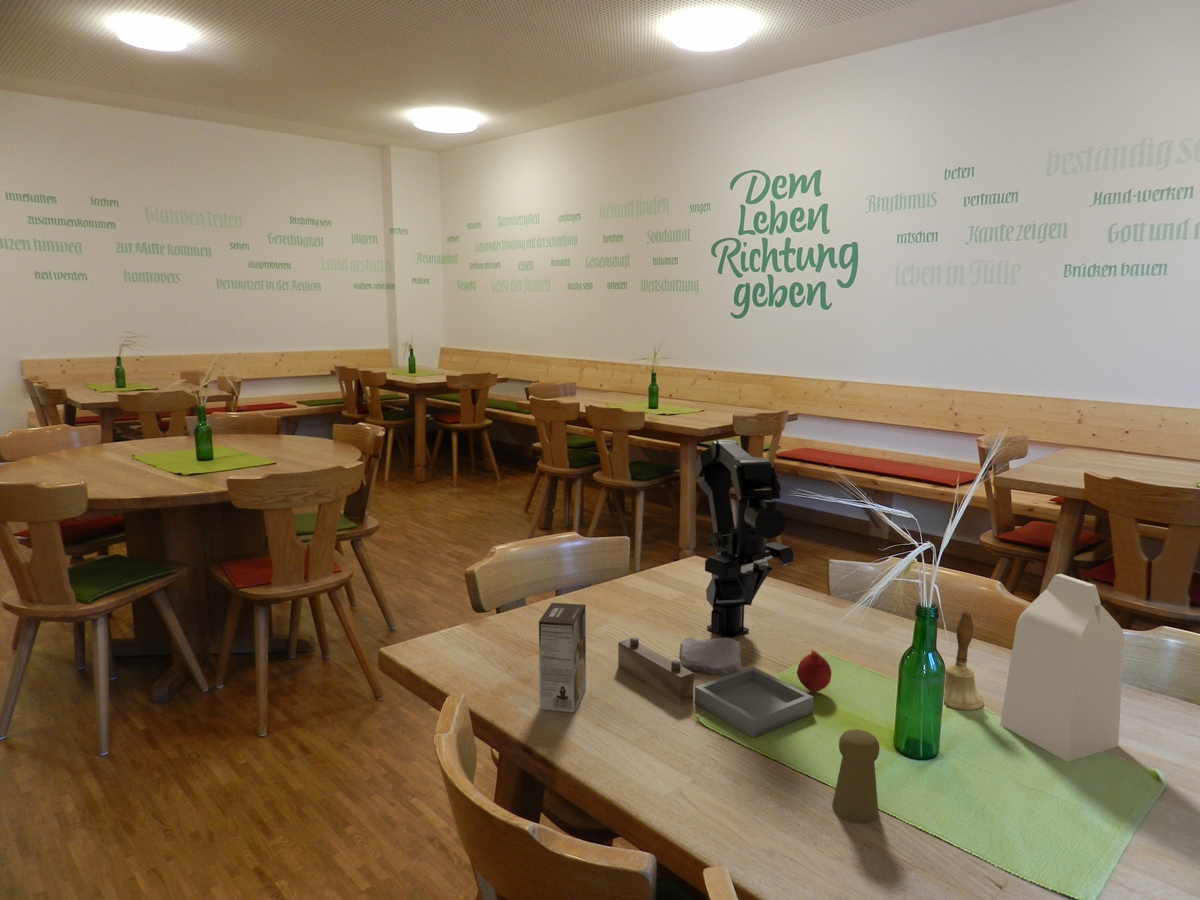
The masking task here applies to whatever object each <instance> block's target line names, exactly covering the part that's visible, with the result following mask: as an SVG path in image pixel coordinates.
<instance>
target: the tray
mask: <svg viewBox="0 0 1200 900" xmlns="http://www.w3.org/2000/svg"><path fill="white" fill-rule="evenodd" d="M814 697H815V696H813V695H811V694H809V693H807V692H805V691H803V690H801V689H799V688H797V687H796V686H793V685H791V684H789V683H787V682H785V681H783V680H782V679H779V678H777V677H775V676H773V675H771V674H769V673H767V672H765V671H763V670H761V669H759V668H757V667H755V666H751V667H748V668H745V669H742V670H741V671H739V672H736V673H733V674H730V675H726V676H724V675H723V676H722V677H719V678H716V679H713V680H710V681H707V682H705V683H702V684H699V685H697V686H694V703H695V705H698V706H699V707H701V708H703V709H704V710H706V711H708V712H710V713H711V714H713V715H714V716H716V717H718V718H719V719H720V720H723V721H724V722H726V723H727V724H730V725H731V726H733V727H734V728H736V729H738V730H739V731H740V732H743V733H744V734H746V735H748V736H750V737H751V738H753V739H754V738H757V737H759V736H761V735H765V734H766V733H769V732H771V731H774V730H776V729H778V728H781V727H783V726H786V725H788V724H790V723H793V722H795V721H797V720H799V719H802V718H804V717H807V716H809V715H811V714H813V712H814Z"/></svg>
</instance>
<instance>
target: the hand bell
mask: <svg viewBox="0 0 1200 900" xmlns="http://www.w3.org/2000/svg"><path fill="white" fill-rule="evenodd" d="M973 635H974V623H973V619H972V613H971V612H970V611H963V612H962V614H961V616H960V618H959V619H958V623H957V625H956V641H957V645H958V647H957V653H956V658H955V659H956V660H955V664H953V665H949V666H947V667H946V670H945V674H946V681H945V693H944V704H943V706H946V707H948V708H951V709H952V708H953V709H956V710H962V711H964V710H965V711H975V710H980V709H981V708H983V707H984V704H985V701H984V700H983V699H984V698H983V697H982V696H981V695H980V694H979V693H978V690H977V687H976V682H975V681H976V680H975V672H974V671H973V670H972V669H971V668H969V667H968V666H967V662H968V651H969V650H968V649H969V646H970V644H971V642H972V639H973Z"/></svg>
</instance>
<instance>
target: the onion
mask: <svg viewBox="0 0 1200 900" xmlns="http://www.w3.org/2000/svg"><path fill="white" fill-rule="evenodd" d="M796 671H797V672H796V674H797V678H798V680H799V682H800V683H801V685H803V687H805V688H806V690H808V692H809V693H812V694H815V693H818V692H820V691H822V690H824V689H825V688H826V687H828V686H829V684H830V683H831V680H832V679H831V678H832V669H831V666H830V664H829V662H828V661H827V660H826V658H824V657H823V656H822V655H821V654H820V653H818V652H817V650H816V649H814V648H813V649H811V653H810V654H808V655H806V656H804V657H803V658H802V659H801V661H800V662H799V663H798V667H797V670H796Z"/></svg>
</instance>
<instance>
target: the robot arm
mask: <svg viewBox="0 0 1200 900" xmlns="http://www.w3.org/2000/svg"><path fill="white" fill-rule="evenodd" d="M694 474H695V477H697V479H698V485H699V488H700V489H701V490H702V491H703V493H704V494H706V495H707V497H708V501H709V502H708V503H709V509H710V517H711V523H712V524H711V525H712V531H713V532H711V533H708V539H707V542H708V548H709V549H710V550H711V551H712V550H715V554H714V555H711V556H708V557H707V558H706V559H705V561H704V571H705V572H707V573H710V574H711V580H710V581H709V583H708V586H707V587H706V589H705V590H706V591H705V593H706V601H707V602H708V604H709V605H710V606H711V607H712V610H711V612H710V613H711V619H710V621H711V622H710V625H707V626H706V629H707V630H709V631H711V632H714V633H715V634H718V635H719V636H721V637H723V638H733V637H735V636H740V635H742V634H745V633H749V631H750V628H747V627H745V626H744V625H745V624H744V623H745V606H752V602H753V600H754V599H755V596H756V595H757V594H758V591H759V590H760V588H761V586H762V584H763V583H764V582H765V580H766V578H767V576H768V575H769V574H770V573H771V572H772V571H773V570H774V567H772V566H769V563H768V560H773V559H777V558H778V559H779V560H778V561H779V562H781V564H784V565H786V564H790V563H792V562H794V551H793V549H792V548H791V547H790V546H788V545H784V544H782V543H778V542H775V541H772V542H767V540H768V539H769V540H770V539H771V540H772V539H775V538H777V537H779V536H780V535H781V534H782V533H783V531H784V530H785V528H786V524H787V520H786V517H785V515H784V513H783V511H781V510H780V509H778V508H777V506H776V505H777V502H776V501H775V500H779V499H781V491H782V487H781V485H780V480H779V478H778V477H779V476H778V474H777V472H776V469H775V466H774V465H773V463H772V462H771V460H770V459H767V458H764V457H757V456H752V455H751V454H749V453H748V452H747V451H746V450H745V449H743V448H742V447H741V446H740V445H739V444H738V441H736V440H733V439H716V440H715V441H712V442H711V445H710V446H709V447H708V448H706V449H705V450H703V451H701V452H700V453H699V454H698V456H697V458H696V461H695V464H694ZM732 486H733V489H734V491H735V495H736V498H737V499H736V516H735V517H736V521H735V520H734V514H733V505H732V500H731V499H732V498H731V493H730V490H731V488H732ZM735 523H736V524H735Z"/></svg>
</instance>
